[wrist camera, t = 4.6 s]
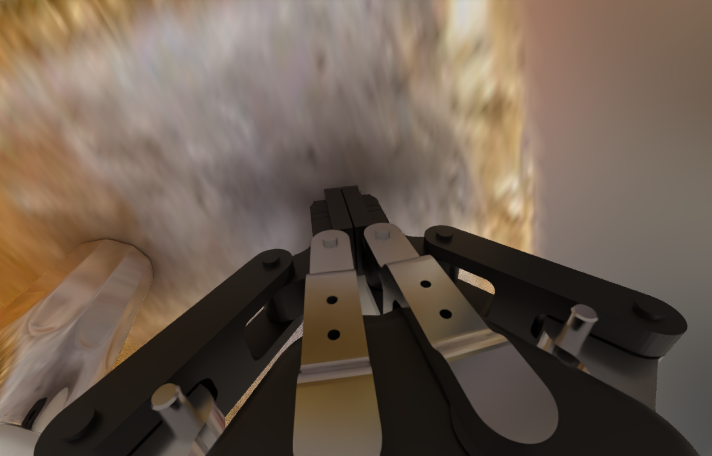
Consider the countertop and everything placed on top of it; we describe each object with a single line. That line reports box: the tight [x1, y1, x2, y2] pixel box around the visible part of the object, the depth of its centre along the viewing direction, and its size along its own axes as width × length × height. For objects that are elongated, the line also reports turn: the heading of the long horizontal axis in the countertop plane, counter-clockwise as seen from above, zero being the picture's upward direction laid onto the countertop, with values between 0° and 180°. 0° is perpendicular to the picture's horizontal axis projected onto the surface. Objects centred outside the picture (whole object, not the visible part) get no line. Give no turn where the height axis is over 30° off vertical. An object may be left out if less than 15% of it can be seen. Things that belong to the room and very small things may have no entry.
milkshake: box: [0, 239, 154, 456], centre depth 10 cm, size 4×5×10 cm
